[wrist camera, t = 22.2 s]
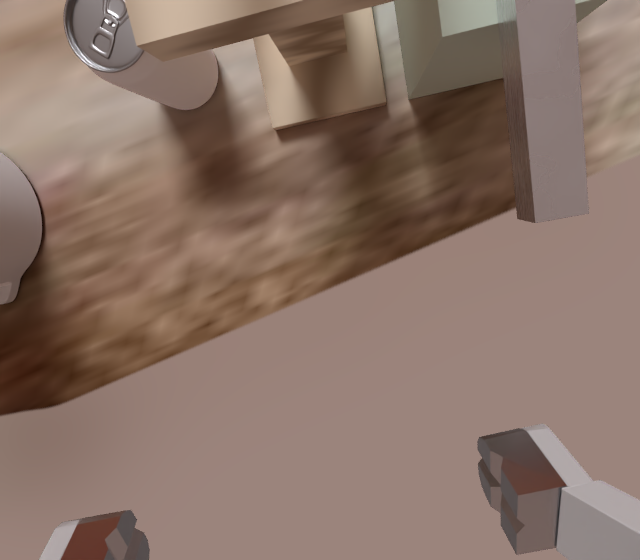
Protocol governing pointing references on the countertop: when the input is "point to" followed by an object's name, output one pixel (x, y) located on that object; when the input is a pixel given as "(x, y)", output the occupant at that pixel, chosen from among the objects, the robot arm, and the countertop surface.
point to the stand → (278, 48)
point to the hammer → (543, 107)
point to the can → (135, 56)
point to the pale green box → (454, 42)
